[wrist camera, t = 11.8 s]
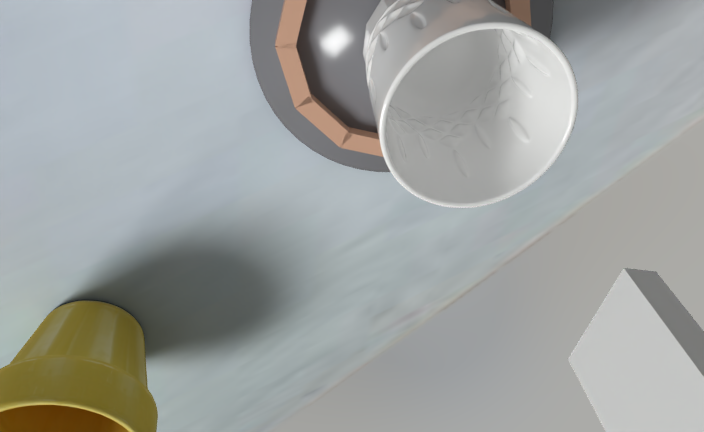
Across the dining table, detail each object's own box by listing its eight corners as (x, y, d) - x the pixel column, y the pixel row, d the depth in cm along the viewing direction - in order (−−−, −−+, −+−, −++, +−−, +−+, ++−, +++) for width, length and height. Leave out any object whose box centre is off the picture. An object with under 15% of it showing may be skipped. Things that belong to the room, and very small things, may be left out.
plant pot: (198, 361, 44) (182, 485, 36) (69, 399, 44) (25, 529, 36) (128, 258, 38) (89, 379, 30) (-19, 304, 38) (-95, 434, 30)
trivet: (288, -190, 26) (289, -190, 24) (603, -80, 29) (617, -75, 28) (225, 137, 34) (223, 148, 33) (478, 188, 38) (484, 200, 37)
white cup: (524, -9, 30) (617, 58, 22) (460, 126, 34) (519, 225, 26) (382, -60, 28) (427, -7, 20) (331, 90, 32) (352, 185, 24)
